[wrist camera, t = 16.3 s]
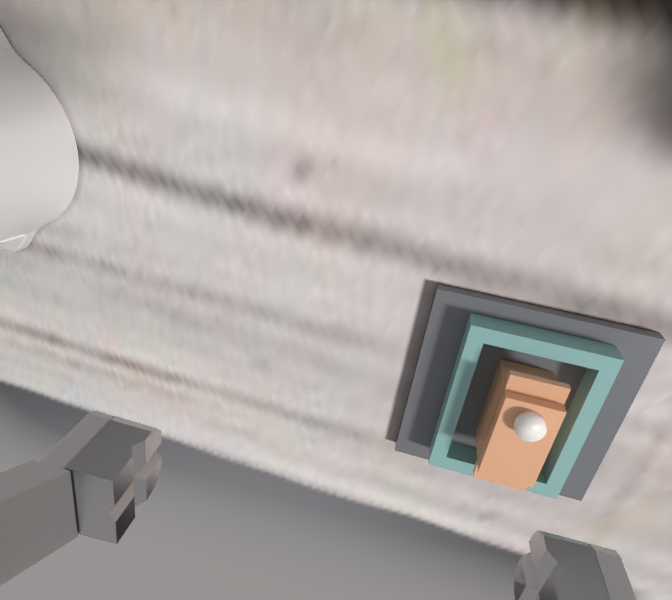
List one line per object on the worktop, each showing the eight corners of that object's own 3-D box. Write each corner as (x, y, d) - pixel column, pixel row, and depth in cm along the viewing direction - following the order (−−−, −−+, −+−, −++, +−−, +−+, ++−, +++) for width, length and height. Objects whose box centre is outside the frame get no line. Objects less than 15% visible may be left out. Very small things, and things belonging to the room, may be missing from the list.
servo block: (471, 441, 41) (473, 493, 36) (505, 344, 37) (512, 388, 32) (519, 453, 41) (528, 508, 36) (559, 357, 37) (576, 404, 31)
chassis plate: (396, 442, 44) (392, 466, 42) (437, 283, 37) (436, 299, 35) (578, 491, 42) (586, 519, 40) (659, 333, 35) (676, 354, 32)
